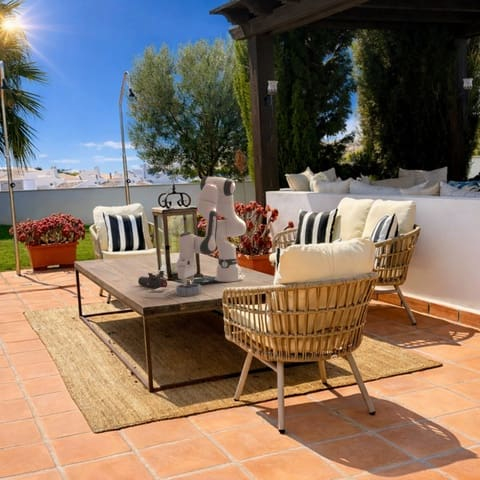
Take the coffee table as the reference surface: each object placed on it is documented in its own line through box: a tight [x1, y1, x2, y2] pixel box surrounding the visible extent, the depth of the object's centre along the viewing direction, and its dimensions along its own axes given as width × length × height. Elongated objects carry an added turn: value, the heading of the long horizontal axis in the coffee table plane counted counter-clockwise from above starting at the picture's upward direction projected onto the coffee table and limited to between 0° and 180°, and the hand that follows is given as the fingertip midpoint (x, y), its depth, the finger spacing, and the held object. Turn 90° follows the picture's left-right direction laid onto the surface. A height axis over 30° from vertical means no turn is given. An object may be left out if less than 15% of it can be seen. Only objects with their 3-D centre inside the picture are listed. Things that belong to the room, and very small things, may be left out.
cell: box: [185, 279, 193, 288], centre depth 363 cm, size 4×4×7 cm
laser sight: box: [137, 270, 168, 289], centre depth 389 cm, size 10×22×10 cm, turn 47°
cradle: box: [143, 287, 176, 299], centre depth 366 cm, size 21×12×3 cm, turn 162°
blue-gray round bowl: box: [175, 283, 202, 297], centre depth 363 cm, size 14×14×5 cm
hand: (188, 284), depth 363 cm, fingers open, 8 cm apart
